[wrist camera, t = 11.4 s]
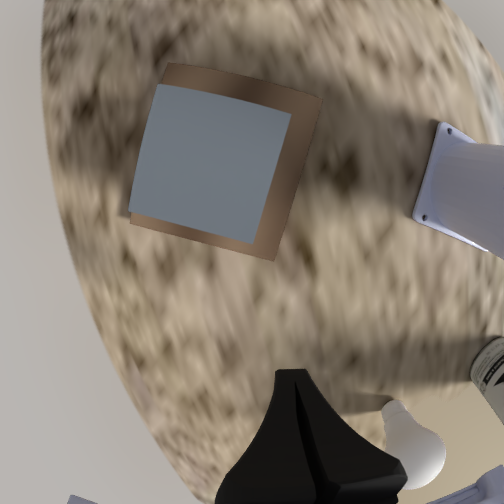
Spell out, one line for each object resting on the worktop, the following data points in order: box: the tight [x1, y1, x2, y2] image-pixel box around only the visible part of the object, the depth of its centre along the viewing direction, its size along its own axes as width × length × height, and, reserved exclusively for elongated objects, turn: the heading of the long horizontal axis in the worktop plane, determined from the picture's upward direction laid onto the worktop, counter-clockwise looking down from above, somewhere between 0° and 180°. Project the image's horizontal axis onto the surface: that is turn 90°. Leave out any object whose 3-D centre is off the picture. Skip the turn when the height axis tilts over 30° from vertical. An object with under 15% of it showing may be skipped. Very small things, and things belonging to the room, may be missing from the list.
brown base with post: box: [130, 62, 323, 261], centre depth 16 cm, size 10×11×6 cm
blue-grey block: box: [128, 84, 292, 244], centre depth 15 cm, size 6×6×7 cm
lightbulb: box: [381, 400, 446, 489], centre depth 21 cm, size 6×6×11 cm
